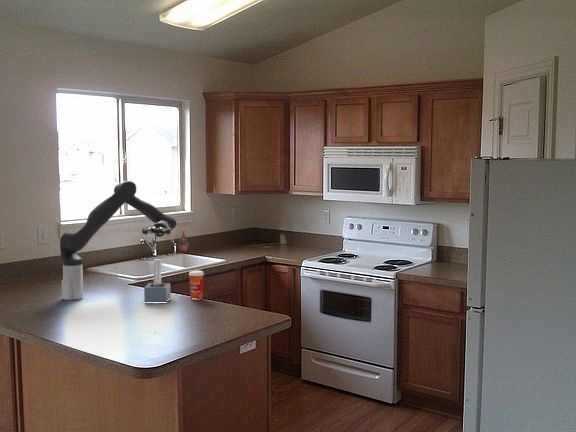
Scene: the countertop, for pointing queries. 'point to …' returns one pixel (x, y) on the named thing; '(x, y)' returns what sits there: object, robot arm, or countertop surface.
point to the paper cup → (196, 284)
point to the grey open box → (157, 293)
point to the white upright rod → (157, 272)
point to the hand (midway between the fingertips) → (153, 232)
